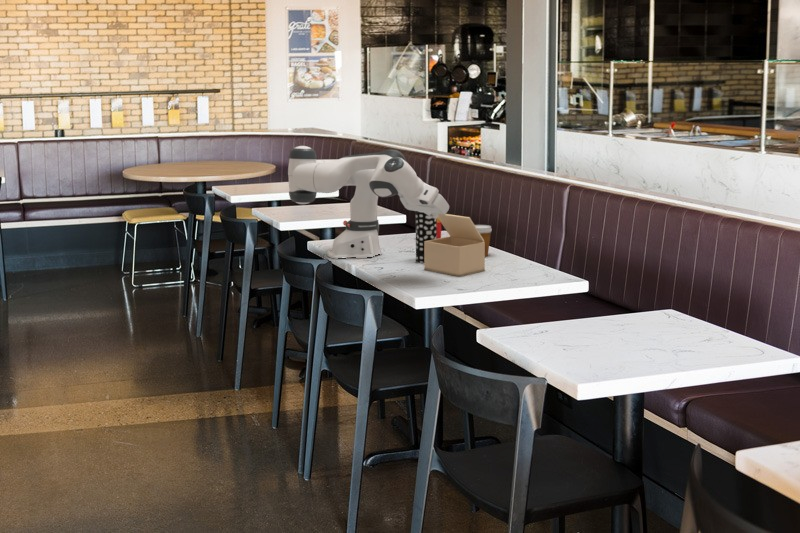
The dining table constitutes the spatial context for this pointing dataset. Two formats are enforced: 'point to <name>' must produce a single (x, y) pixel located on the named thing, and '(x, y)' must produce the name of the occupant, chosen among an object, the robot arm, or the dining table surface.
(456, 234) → the carton flap
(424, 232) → the white-spotted black cylinder
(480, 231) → the disposable coffee cup
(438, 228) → the french fries
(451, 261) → the carton
